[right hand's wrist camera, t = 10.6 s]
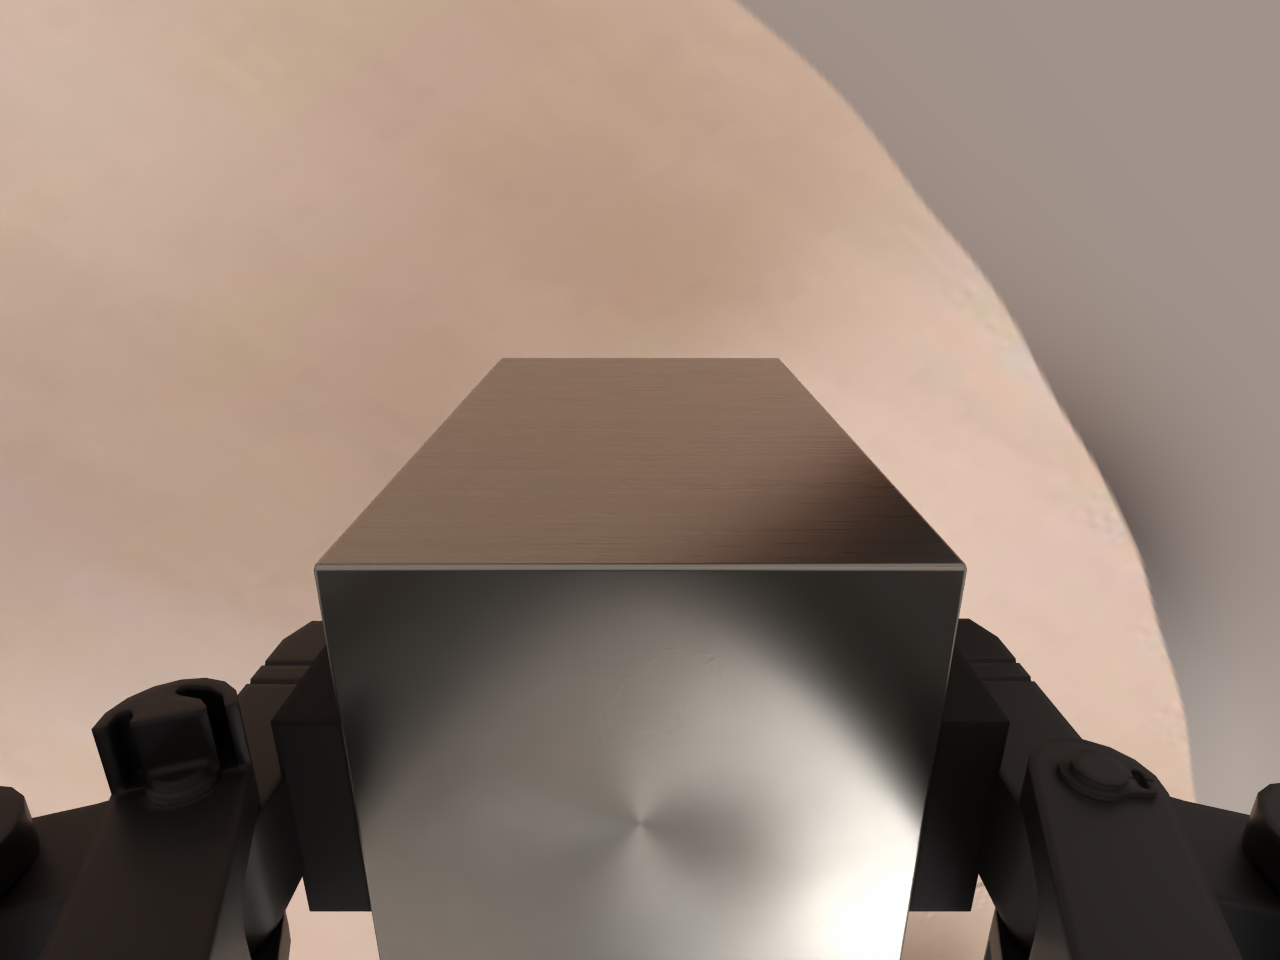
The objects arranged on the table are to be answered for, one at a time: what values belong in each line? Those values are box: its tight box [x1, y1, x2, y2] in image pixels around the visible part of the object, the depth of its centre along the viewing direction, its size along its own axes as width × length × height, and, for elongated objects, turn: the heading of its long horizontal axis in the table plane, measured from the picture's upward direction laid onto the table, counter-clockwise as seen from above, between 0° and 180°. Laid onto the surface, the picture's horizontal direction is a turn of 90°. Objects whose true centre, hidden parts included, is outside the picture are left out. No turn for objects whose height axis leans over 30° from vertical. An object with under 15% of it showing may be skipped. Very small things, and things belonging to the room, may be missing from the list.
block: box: [314, 358, 967, 960], centre depth 13 cm, size 6×6×10 cm
